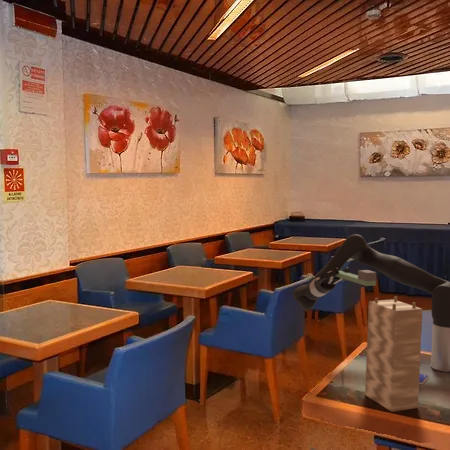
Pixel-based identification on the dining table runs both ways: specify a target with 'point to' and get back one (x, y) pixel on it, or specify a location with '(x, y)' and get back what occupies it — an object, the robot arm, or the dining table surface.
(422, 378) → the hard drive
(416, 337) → the stand
